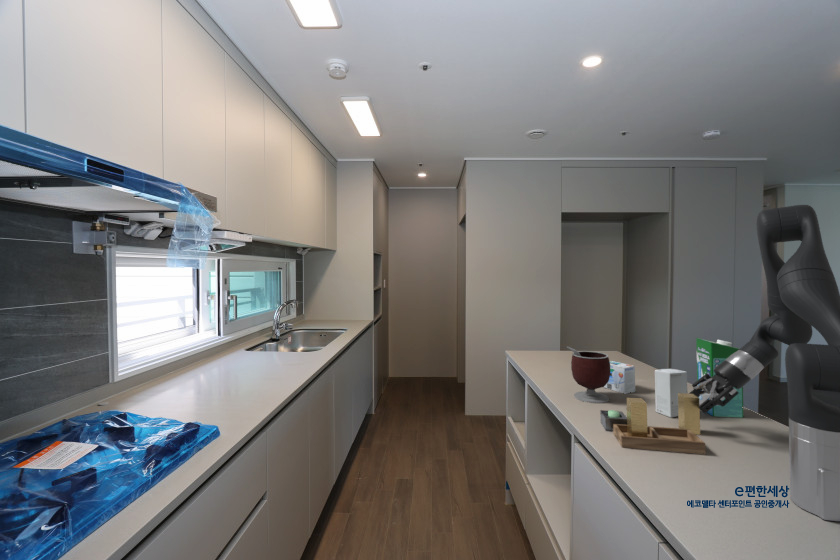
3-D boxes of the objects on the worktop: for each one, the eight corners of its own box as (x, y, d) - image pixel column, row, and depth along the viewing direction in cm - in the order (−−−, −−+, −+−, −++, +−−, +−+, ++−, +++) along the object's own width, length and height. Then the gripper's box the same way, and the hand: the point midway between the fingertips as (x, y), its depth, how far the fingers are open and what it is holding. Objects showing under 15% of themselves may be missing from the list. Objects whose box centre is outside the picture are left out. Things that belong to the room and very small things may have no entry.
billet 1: (647, 442, 100) (646, 403, 100) (631, 440, 101) (630, 402, 101) (642, 435, 104) (641, 398, 104) (627, 434, 105) (626, 397, 105)
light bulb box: (601, 387, 153) (601, 362, 153) (612, 384, 156) (611, 360, 156) (625, 394, 143) (624, 367, 143) (636, 391, 146) (635, 365, 146)
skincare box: (670, 418, 119) (670, 373, 119) (654, 411, 125) (653, 369, 125) (689, 414, 121) (688, 371, 121) (672, 408, 127) (671, 367, 127)
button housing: (628, 432, 109) (628, 419, 109) (605, 430, 111) (605, 417, 111) (622, 423, 115) (622, 411, 115) (600, 422, 117) (600, 410, 117)
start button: (621, 427, 111) (620, 414, 111) (609, 426, 112) (609, 413, 112) (618, 422, 114) (617, 410, 114) (607, 422, 115) (606, 409, 115)
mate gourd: (606, 393, 145) (605, 344, 145) (614, 405, 132) (613, 351, 132) (565, 390, 150) (564, 343, 149) (569, 402, 136) (568, 349, 136)
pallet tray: (705, 454, 95) (705, 443, 95) (622, 447, 100) (621, 436, 100) (689, 439, 104) (688, 429, 104) (613, 433, 109) (612, 423, 109)
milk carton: (743, 418, 118) (742, 342, 117) (712, 416, 119) (711, 342, 119) (726, 408, 126) (724, 337, 126) (697, 406, 128) (696, 337, 128)
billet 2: (700, 434, 106) (699, 398, 106) (684, 433, 107) (683, 397, 107) (693, 429, 110) (692, 393, 110) (678, 428, 111) (677, 393, 111)
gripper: (714, 354, 113) (673, 388, 116) (742, 365, 99) (695, 404, 102) (734, 372, 112) (692, 406, 115) (765, 385, 98) (717, 424, 101)
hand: (694, 405), depth 108 cm, fingers open, 8 cm apart
